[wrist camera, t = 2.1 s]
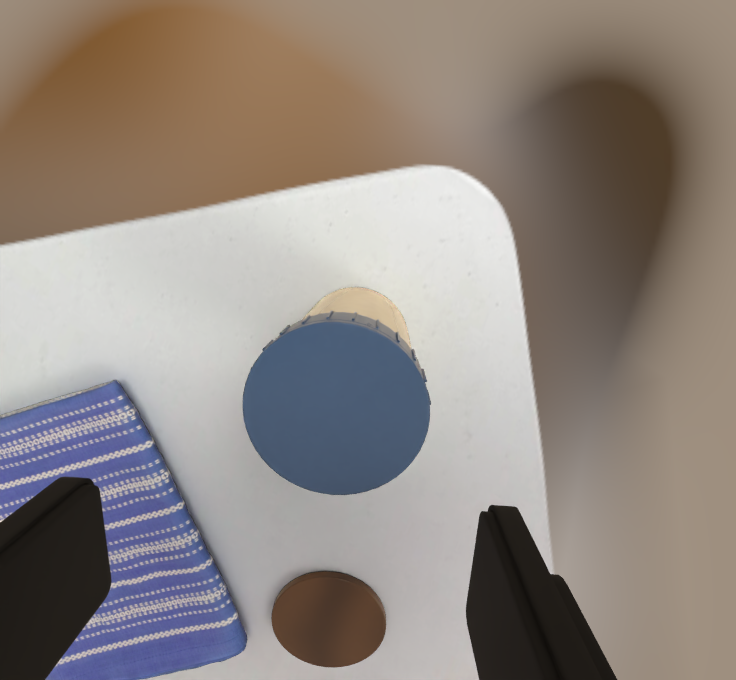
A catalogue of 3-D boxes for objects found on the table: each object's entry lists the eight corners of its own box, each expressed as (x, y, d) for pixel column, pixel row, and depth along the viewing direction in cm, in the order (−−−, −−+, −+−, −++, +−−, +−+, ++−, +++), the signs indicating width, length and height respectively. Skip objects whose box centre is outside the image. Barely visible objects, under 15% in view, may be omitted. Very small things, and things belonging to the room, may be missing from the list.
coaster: (389, 575, 31) (389, 582, 31) (382, 664, 34) (382, 672, 33) (273, 566, 32) (271, 572, 31) (273, 655, 34) (271, 662, 33)
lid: (434, 316, 17) (441, 326, 15) (418, 475, 19) (422, 503, 17) (254, 304, 17) (238, 314, 15) (257, 464, 19) (243, 489, 17)
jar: (412, 290, 26) (430, 331, 15) (403, 391, 27) (415, 489, 17) (304, 283, 26) (250, 319, 15) (302, 384, 27) (254, 476, 17)
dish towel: (76, 675, 35) (50, 712, 33) (-80, 438, 30) (-127, 459, 27) (258, 635, 33) (247, 671, 31) (128, 372, 28) (100, 388, 25)
